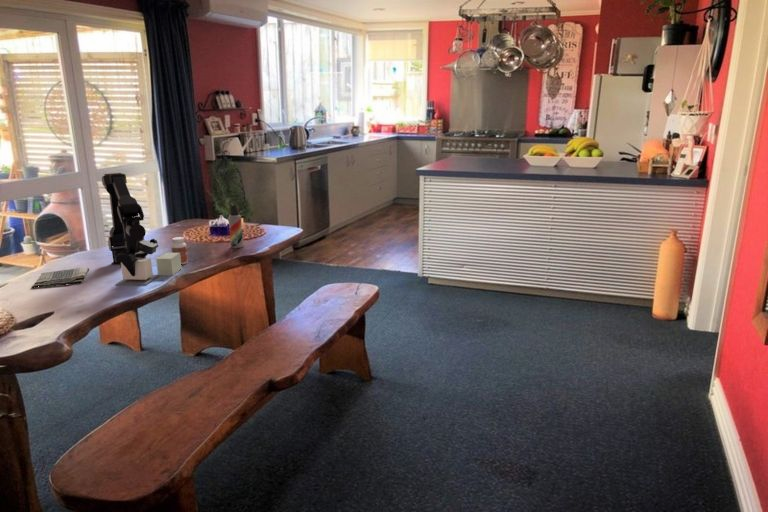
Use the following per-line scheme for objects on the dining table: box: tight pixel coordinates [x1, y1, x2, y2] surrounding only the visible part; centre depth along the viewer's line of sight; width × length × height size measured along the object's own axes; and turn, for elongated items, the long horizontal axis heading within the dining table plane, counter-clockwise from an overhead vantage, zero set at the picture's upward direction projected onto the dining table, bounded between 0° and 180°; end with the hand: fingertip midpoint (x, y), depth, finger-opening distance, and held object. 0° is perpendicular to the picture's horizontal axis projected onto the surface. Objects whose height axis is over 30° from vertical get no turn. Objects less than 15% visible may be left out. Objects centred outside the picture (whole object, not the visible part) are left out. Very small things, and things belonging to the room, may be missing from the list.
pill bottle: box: [170, 236, 189, 265], centre depth 240 cm, size 6×6×11 cm
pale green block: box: [156, 252, 183, 277], centre depth 228 cm, size 9×6×7 cm, turn 177°
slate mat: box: [115, 274, 161, 286], centre depth 219 cm, size 12×12×1 cm
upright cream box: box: [120, 257, 154, 280], centre depth 218 cm, size 9×6×7 cm, turn 87°
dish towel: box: [31, 267, 90, 289], centre depth 221 cm, size 19×18×3 cm
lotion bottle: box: [228, 205, 244, 249], centre depth 265 cm, size 6×6×20 cm
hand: (137, 273), depth 218 cm, fingers closed on upright cream box, 6 cm apart
